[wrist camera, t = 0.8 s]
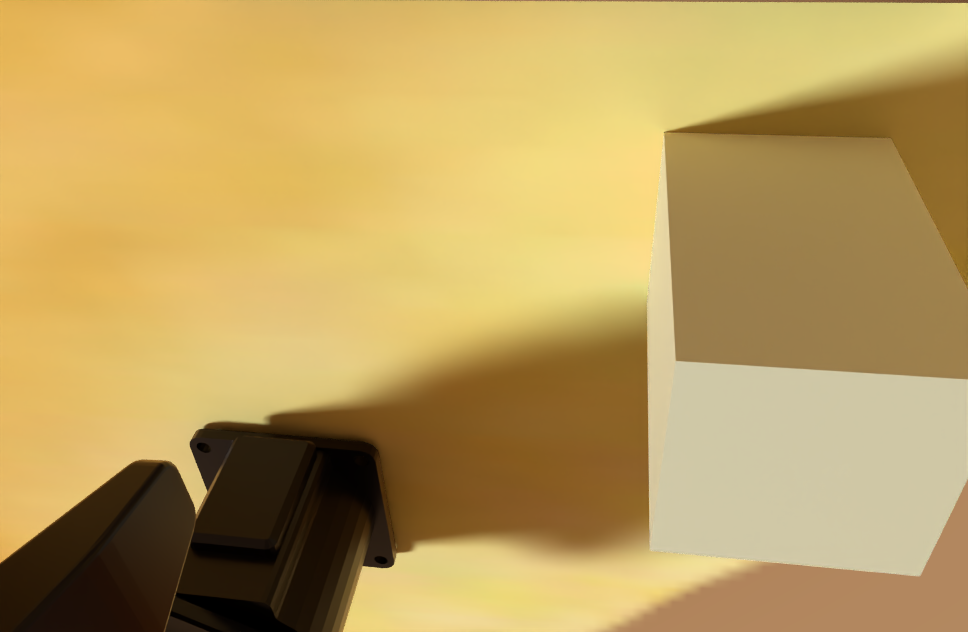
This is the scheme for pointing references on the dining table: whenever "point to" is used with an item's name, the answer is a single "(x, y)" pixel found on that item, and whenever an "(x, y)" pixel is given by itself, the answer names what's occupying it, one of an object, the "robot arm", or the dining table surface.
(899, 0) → the cleat board
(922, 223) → the cabinet block
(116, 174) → the dining table surface
